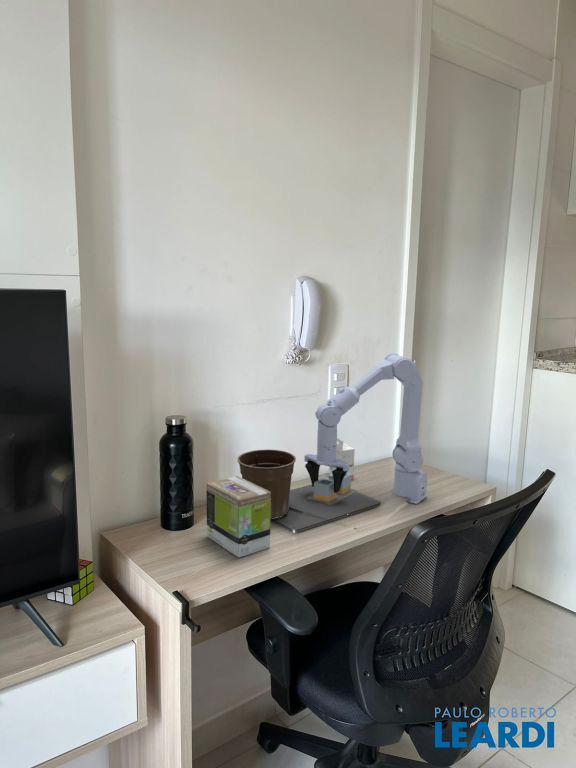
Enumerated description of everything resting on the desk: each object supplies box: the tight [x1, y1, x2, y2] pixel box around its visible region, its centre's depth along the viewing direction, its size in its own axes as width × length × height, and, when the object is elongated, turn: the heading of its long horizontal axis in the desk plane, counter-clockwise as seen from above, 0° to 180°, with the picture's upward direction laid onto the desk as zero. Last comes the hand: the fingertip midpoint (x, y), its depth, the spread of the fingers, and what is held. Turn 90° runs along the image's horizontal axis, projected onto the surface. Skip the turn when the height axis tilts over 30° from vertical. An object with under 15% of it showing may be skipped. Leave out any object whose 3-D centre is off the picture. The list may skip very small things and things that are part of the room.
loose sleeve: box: [313, 477, 337, 502], centre depth 172 cm, size 5×5×5 cm
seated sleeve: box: [328, 473, 352, 494], centre depth 178 cm, size 5×5×5 cm
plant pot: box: [237, 449, 297, 521], centre depth 163 cm, size 16×16×16 cm
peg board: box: [306, 488, 358, 506], centre depth 175 cm, size 9×15×4 cm, turn 144°
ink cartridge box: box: [328, 437, 356, 481], centre depth 190 cm, size 9×5×15 cm, turn 25°
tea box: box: [206, 475, 271, 558], centre depth 144 cm, size 15×10×15 cm, turn 38°
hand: (325, 488), depth 172 cm, fingers open, 7 cm apart
